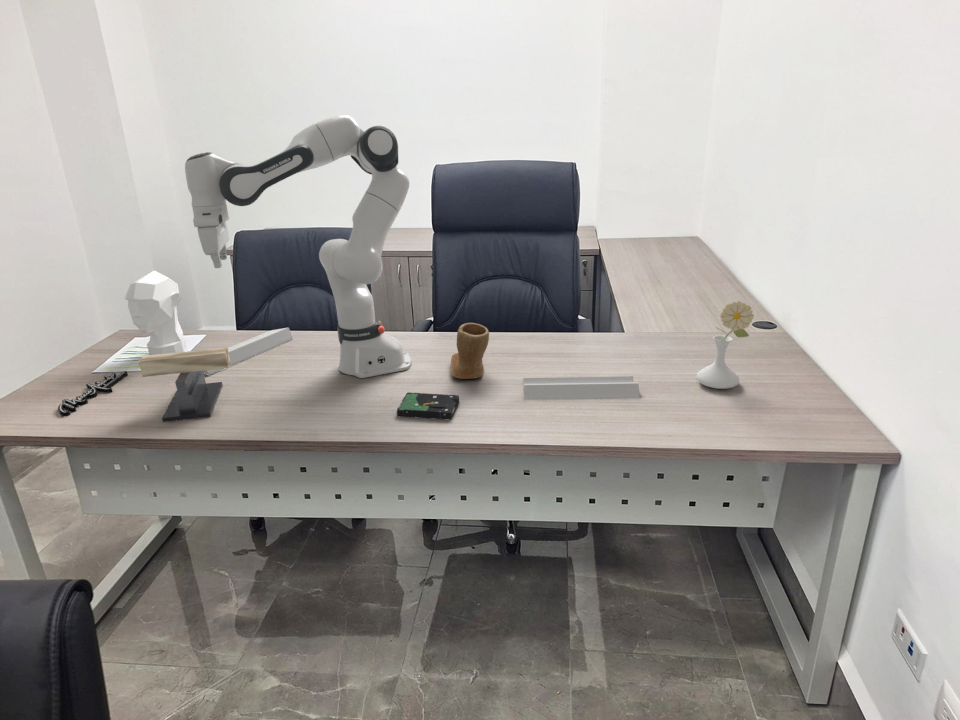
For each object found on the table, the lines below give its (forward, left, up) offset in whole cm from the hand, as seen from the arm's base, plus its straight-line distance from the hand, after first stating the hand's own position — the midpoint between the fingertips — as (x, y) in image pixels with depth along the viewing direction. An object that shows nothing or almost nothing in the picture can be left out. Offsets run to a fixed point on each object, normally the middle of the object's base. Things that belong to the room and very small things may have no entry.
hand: (221, 263), depth 180 cm
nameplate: (+42, +3, -36) cm, 55 cm away
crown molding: (-95, +38, -36) cm, 109 cm away
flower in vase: (-134, +45, -35) cm, 146 cm away
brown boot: (-68, +17, -35) cm, 78 cm away
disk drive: (-53, +38, -36) cm, 74 cm away
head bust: (+28, -23, -35) cm, 50 cm away
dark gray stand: (+11, +17, -35) cm, 40 cm away
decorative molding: (+2, -18, -36) cm, 40 cm away
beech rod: (+11, +17, -25) cm, 32 cm away
